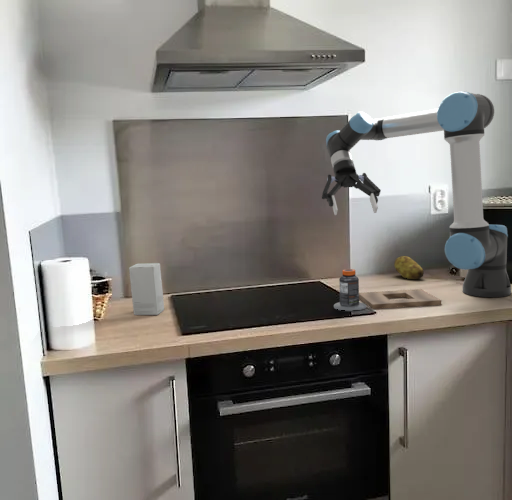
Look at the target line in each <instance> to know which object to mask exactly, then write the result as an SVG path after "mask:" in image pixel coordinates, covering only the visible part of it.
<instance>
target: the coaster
mask: <svg viewBox="0 0 512 500" xmlns="http://www.w3.org/2000/svg"><path fill="white" fill-rule="evenodd" d="M333 309H335V310H337V309H338V310H337V311H341V310H345V311H344V312H353V311H352V310H360V311H362V310H361V309H364V310H365V309H367V304H366V303H364V302H360V301H359V305H358V306H356V307H343V306H341V305H340V301H339V302H336V303H334V304H333Z"/></svg>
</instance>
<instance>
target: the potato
mask: <svg viewBox="0 0 512 500" xmlns="http://www.w3.org/2000/svg"><path fill="white" fill-rule="evenodd" d="M393 266H394V269H395V271H396V273H399V274H400V275H401V277H402V278H404V279H406V278H407V279H408V280H419V279H422V278H423V277H424V274H425V273H424V269H423V267H421V265H420V264H419V263H418V262H417V261H415V260H414V259H413V258H411V257H409V256H406V255H401V256H399V257H397V258H395V260H394V262H393Z"/></svg>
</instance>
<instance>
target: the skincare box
mask: <svg viewBox="0 0 512 500" xmlns="http://www.w3.org/2000/svg"><path fill="white" fill-rule="evenodd" d="M128 271H129V281H130V290H131V299H132V309H133V315H134V316H157V315H160V314H161V313H162V312H163V311H165V303H164V302H165V301H164V292H163V281H162V271H161V263H160V262H151V263H150V262H149V263H148V262H147V263H136V264H134V265H131V266H130V267H128Z"/></svg>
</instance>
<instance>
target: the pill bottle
mask: <svg viewBox="0 0 512 500" xmlns="http://www.w3.org/2000/svg"><path fill="white" fill-rule="evenodd" d="M356 274H357V272H356V269H353V268H345V269H342V275H341V276H339V302H340V305H341V306H343V307H356V306H358V305H359V302H360V299H359V293H360V285H359V283H360V282H359V277H358V276H357V275H356Z"/></svg>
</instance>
